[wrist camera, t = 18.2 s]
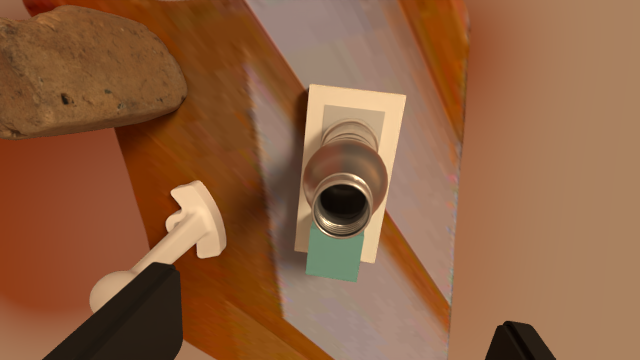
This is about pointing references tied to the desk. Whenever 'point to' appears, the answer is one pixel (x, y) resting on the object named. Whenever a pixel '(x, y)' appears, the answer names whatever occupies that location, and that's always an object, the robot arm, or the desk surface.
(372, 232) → the board
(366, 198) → the plastic bottle
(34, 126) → the block
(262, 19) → the desk surface
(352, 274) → the cube
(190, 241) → the joystick
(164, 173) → the desk surface
